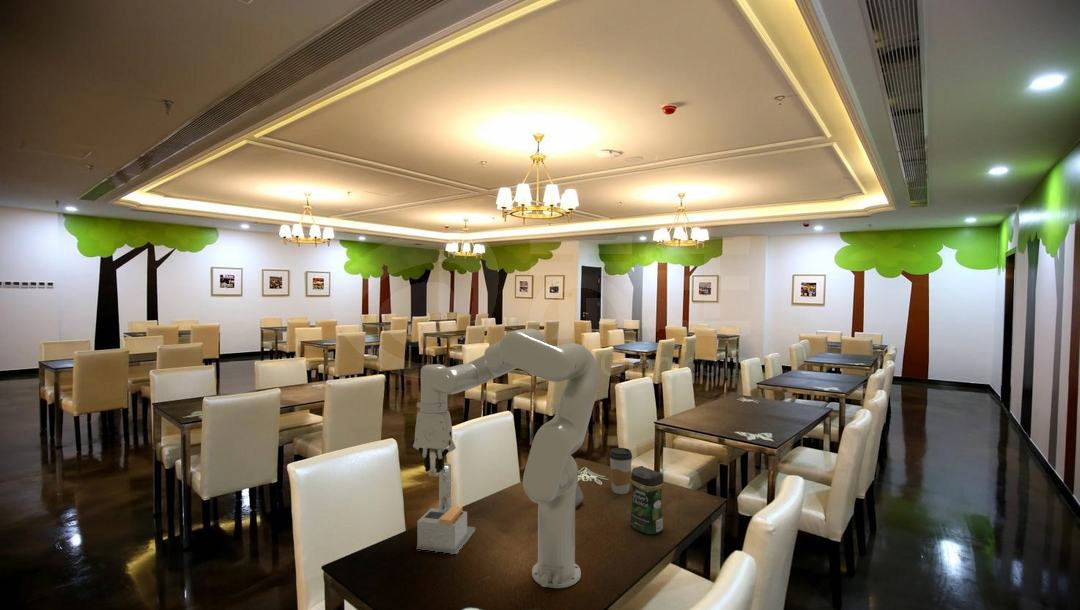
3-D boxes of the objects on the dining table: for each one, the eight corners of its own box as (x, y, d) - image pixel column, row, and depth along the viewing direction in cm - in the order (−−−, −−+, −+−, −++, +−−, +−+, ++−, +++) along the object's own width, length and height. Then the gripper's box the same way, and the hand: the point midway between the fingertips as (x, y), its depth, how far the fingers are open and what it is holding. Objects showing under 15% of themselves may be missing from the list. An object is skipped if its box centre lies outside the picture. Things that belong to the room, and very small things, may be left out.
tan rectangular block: (450, 548, 142) (450, 520, 142) (439, 547, 143) (439, 519, 143) (462, 533, 151) (462, 507, 151) (452, 532, 152) (452, 506, 152)
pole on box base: (456, 554, 141) (456, 483, 141) (416, 549, 144) (416, 479, 144) (475, 530, 156) (475, 465, 156) (438, 526, 159) (438, 462, 158)
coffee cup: (635, 489, 188) (635, 449, 188) (626, 497, 181) (627, 455, 181) (614, 485, 193) (614, 445, 192) (605, 492, 186) (605, 451, 185)
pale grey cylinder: (436, 476, 146) (436, 449, 146) (427, 476, 147) (427, 448, 147) (440, 473, 149) (440, 446, 149) (431, 472, 149) (431, 445, 149)
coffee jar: (626, 526, 159) (626, 467, 158) (642, 519, 164) (643, 462, 163) (650, 538, 151) (650, 476, 151) (667, 530, 156) (667, 470, 156)
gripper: (402, 408, 146) (402, 472, 146) (455, 412, 142) (455, 477, 142) (414, 403, 153) (414, 464, 153) (465, 406, 149) (465, 468, 150)
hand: (434, 470), depth 148 cm, fingers closed on pale grey cylinder, 2 cm apart
